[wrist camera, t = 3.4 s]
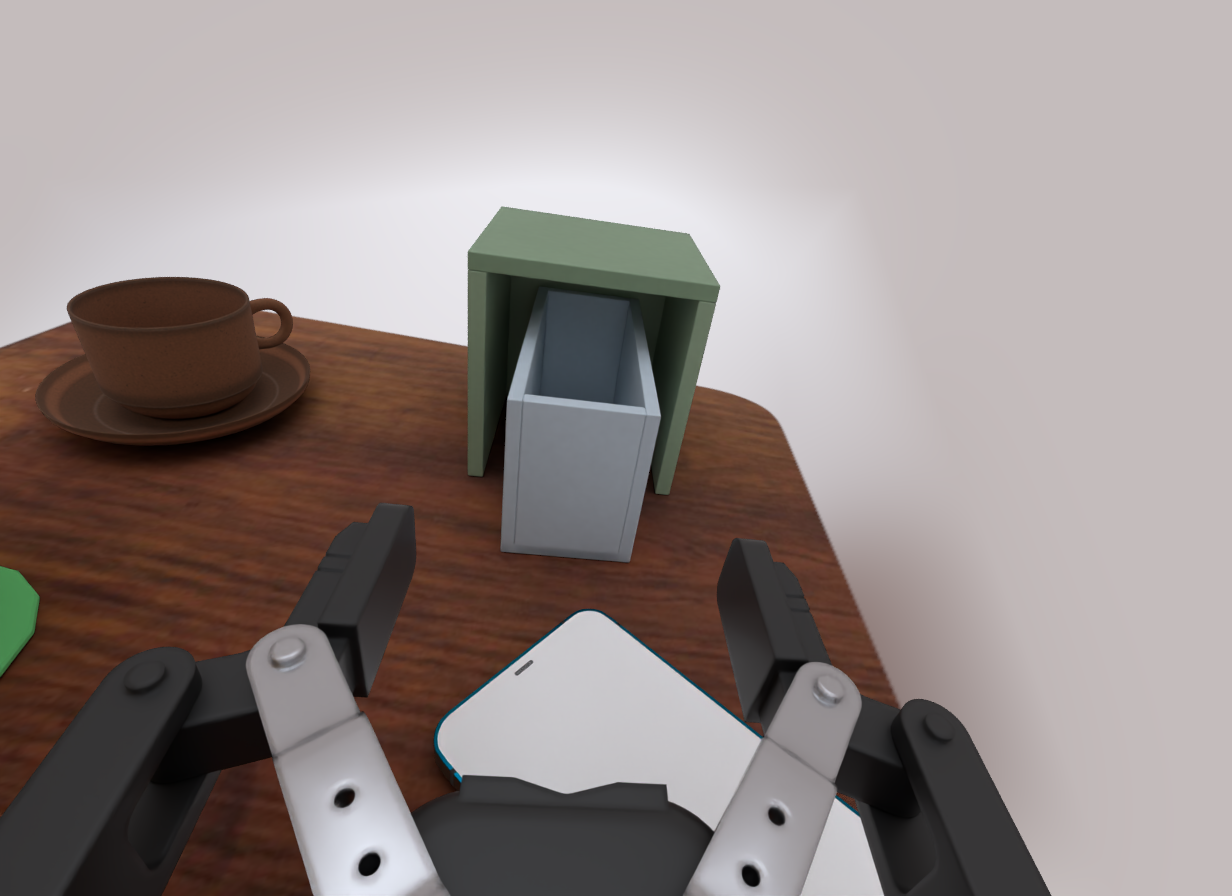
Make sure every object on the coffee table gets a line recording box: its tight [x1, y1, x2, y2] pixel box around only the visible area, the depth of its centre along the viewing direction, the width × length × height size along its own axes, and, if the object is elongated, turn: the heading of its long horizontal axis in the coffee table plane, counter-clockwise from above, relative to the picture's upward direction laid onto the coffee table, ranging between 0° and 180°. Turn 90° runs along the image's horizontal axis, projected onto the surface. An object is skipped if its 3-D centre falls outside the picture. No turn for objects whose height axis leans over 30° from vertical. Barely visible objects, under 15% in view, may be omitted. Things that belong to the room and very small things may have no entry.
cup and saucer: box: [35, 277, 310, 446], centre depth 30 cm, size 12×12×6 cm
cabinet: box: [468, 207, 720, 495], centre depth 32 cm, size 10×11×12 cm
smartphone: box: [434, 609, 884, 896], centre depth 16 cm, size 8×1×16 cm
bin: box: [501, 286, 661, 562], centre depth 30 cm, size 14×6×8 cm, turn 2°
